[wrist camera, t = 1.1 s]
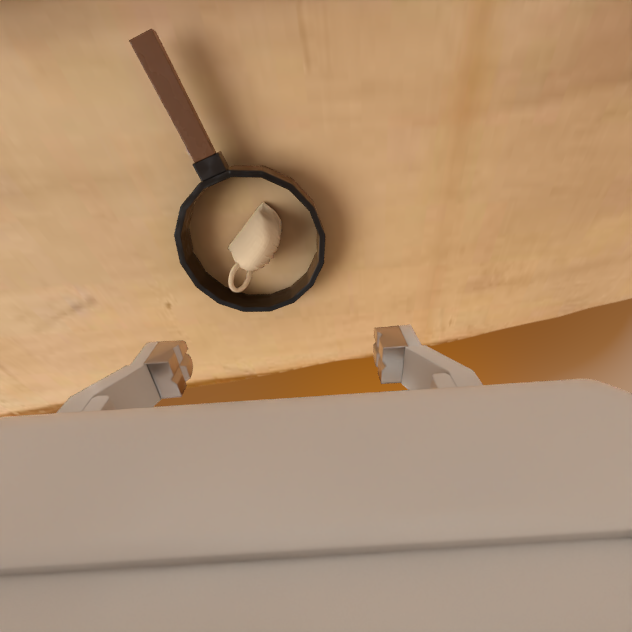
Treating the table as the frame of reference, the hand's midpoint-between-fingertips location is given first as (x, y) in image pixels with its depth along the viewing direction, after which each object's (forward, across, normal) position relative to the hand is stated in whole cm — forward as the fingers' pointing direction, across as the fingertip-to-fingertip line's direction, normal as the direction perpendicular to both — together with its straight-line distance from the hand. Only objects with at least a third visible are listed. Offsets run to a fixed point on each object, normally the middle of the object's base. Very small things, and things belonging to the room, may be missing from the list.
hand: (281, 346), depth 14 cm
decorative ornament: (+24, +5, +2) cm, 25 cm away
